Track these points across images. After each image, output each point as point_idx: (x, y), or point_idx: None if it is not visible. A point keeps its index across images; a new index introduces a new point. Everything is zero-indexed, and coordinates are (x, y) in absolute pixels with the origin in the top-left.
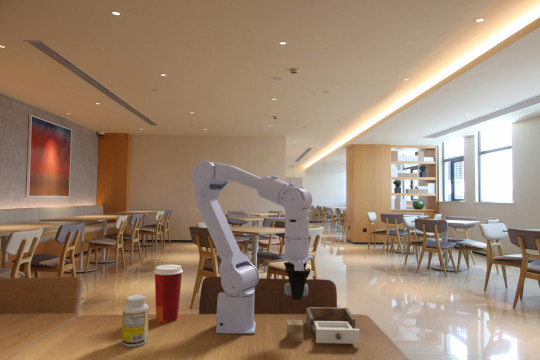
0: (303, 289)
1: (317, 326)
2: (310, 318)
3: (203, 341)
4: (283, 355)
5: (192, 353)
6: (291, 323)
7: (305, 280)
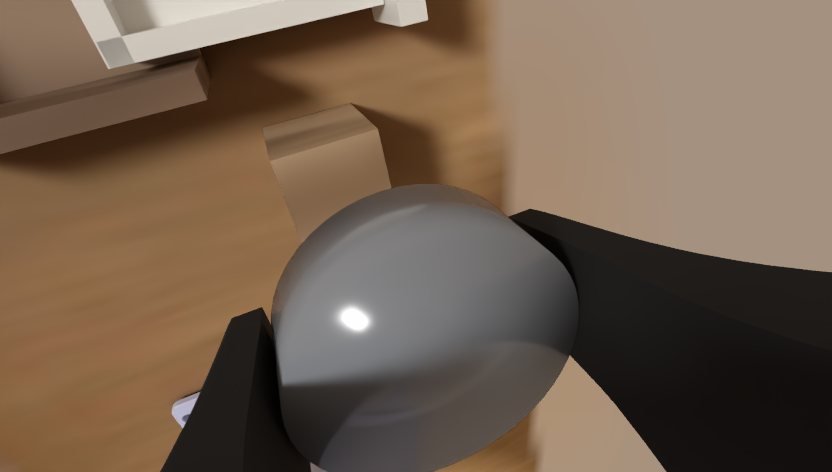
0: (623, 238)
1: (243, 23)
2: (202, 98)
3: None
4: (506, 161)
5: None
6: None
7: (782, 275)
